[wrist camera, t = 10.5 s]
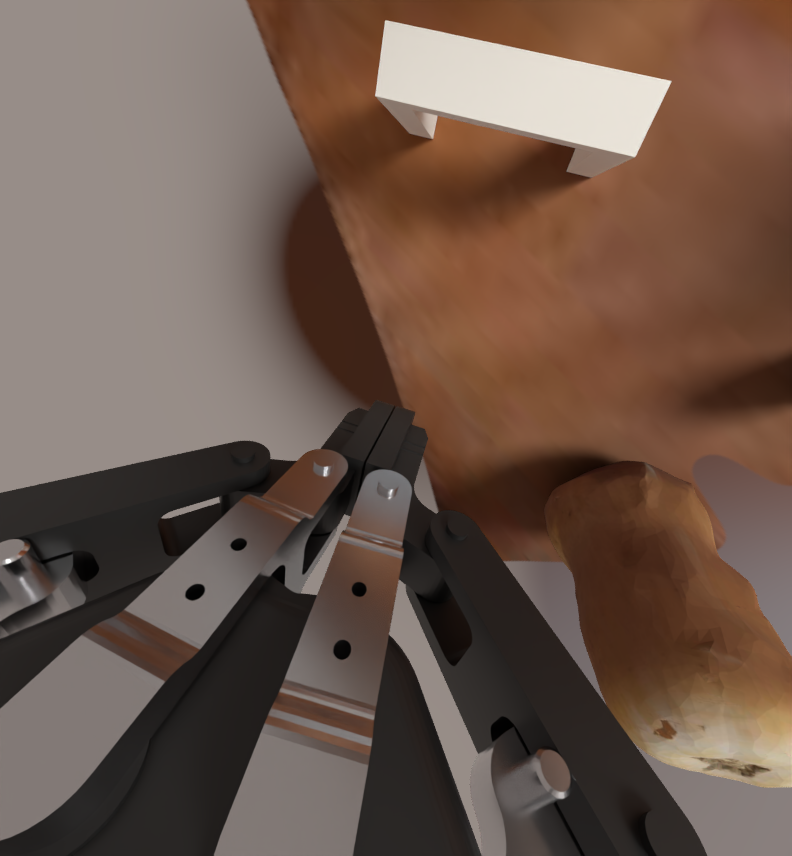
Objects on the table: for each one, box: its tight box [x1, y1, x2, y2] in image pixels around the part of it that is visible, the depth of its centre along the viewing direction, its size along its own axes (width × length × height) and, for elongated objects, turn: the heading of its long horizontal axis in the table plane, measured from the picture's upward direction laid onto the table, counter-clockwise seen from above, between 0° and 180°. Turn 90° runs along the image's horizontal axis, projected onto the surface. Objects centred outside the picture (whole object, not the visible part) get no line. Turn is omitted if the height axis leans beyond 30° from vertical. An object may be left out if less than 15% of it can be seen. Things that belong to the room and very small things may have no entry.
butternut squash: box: [544, 461, 792, 787], centre depth 29 cm, size 14×13×25 cm
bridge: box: [375, 20, 671, 178], centre depth 22 cm, size 3×15×10 cm, turn 78°
